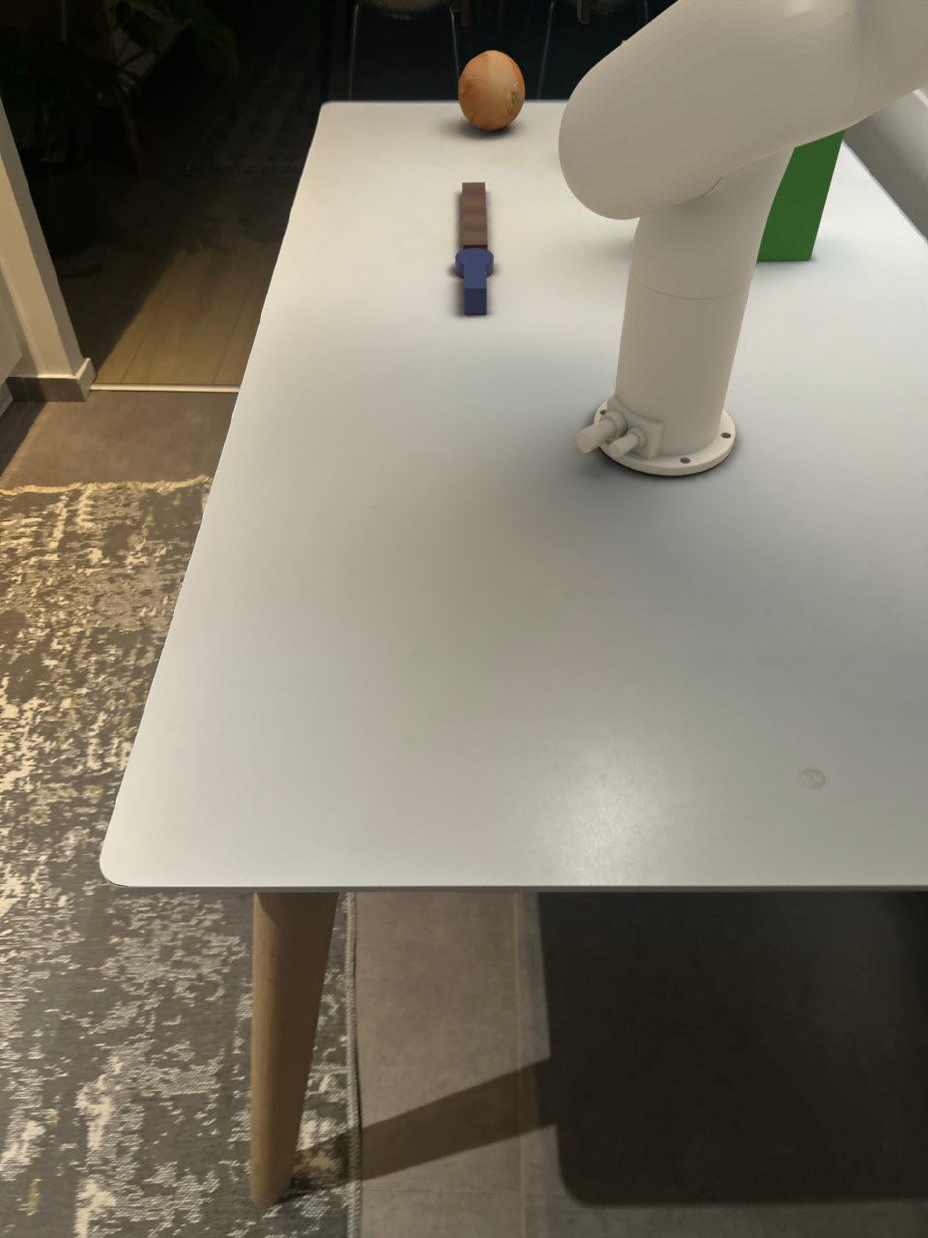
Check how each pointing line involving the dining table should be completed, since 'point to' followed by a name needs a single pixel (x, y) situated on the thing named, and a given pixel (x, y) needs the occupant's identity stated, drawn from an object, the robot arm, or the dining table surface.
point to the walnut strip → (474, 216)
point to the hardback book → (800, 201)
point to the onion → (491, 90)
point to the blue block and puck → (474, 277)
